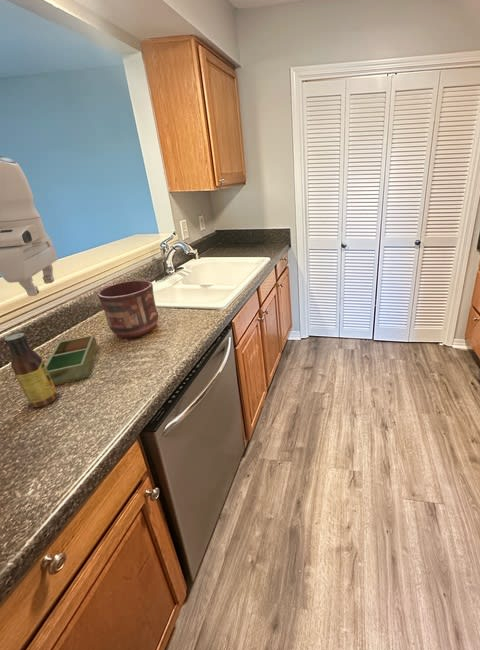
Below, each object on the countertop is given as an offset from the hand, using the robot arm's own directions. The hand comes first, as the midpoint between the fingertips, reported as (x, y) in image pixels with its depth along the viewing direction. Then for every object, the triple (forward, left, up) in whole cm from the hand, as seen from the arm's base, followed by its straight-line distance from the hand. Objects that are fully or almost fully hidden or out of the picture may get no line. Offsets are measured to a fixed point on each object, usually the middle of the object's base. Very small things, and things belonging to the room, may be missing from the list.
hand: (42, 288), depth 80 cm
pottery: (+13, +32, -31) cm, 46 cm away
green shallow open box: (-5, +16, -31) cm, 35 cm away
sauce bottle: (-9, -1, -31) cm, 32 cm away
